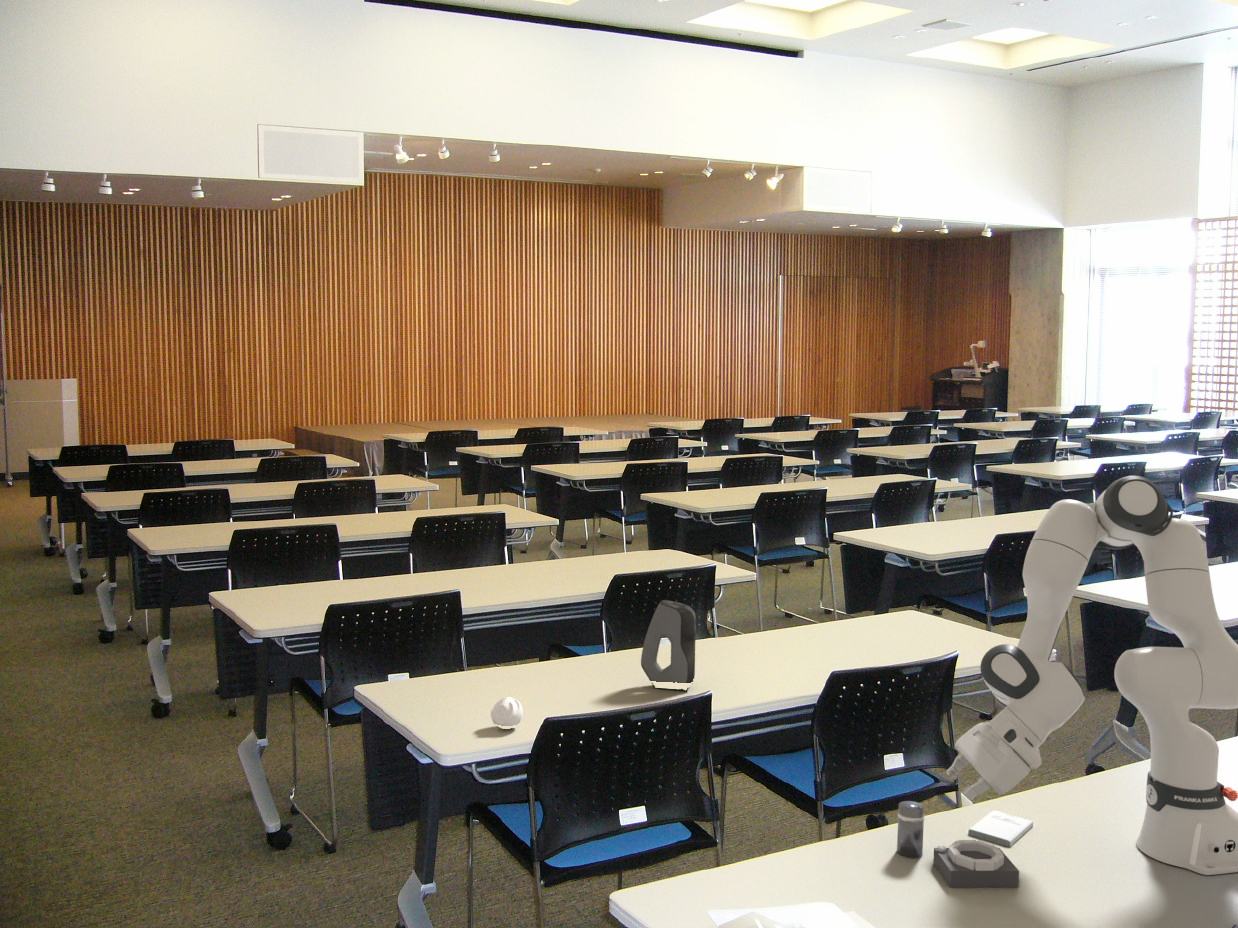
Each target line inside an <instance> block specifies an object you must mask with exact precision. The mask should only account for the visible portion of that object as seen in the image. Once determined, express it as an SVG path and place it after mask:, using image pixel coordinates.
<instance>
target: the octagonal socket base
mask: <svg viewBox="0 0 1238 928" xmlns="http://www.w3.org/2000/svg"><path fill="white" fill-rule="evenodd" d="M933 865H934V867H935V868H936V869H937V872H938V873H940V875H941V877H942V878H943V880H944V881H945V882H946V884H947V886H948V887H949V888H952V889H954V888H959V889H961V888H963V889H964V888H967V889H968V888H973V889H974V888H978V889H979V888H984V889H985V888H986V889H987V888H994V889H995V888H997V889H998V888H1001V889H1003V888H1007V889H1008V888H1010V889H1011V888H1012V889H1013V888H1016V889H1017V888H1019V885H1020V883H1019V882H1020V870H1019V869H1018V868H1017V867H1016V865H1014V863H1013V862H1012V860H1010V858H1009V857H1008V856H1007V855H1006V854H1005V852H1004V851H1003V850H1002V849H1001V848H1000V847H998V846H996V845H993V844H990V843H987V842H986V841H985V842H984V841H981V840H977V839H958V840H955V841H954V842H952V843H951V844H949V845H948V847H946V846H944V845H938V846H936V847H933Z"/></svg>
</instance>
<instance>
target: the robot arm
mask: <svg viewBox="0 0 1238 928" xmlns="http://www.w3.org/2000/svg"><path fill="white" fill-rule="evenodd" d="M1173 516H1174V510H1173V509H1172V507H1171V505H1170V504H1169V503H1168V501H1167V500H1166V498H1165V496H1164V494H1163V491H1162V490H1161V489H1160V488H1159V486H1158V485H1157V484H1156V483H1154V482H1153V481H1152V480H1150V479H1148V478H1147V477H1144V476H1140V475H1128V476H1124V477H1120V478H1119V479H1117V480H1114V481H1113V482H1112V483H1110V484H1109V486H1107V488H1106V489H1105V490H1104V491H1103V492H1102V493H1101V494H1100V495H1099V496H1098V497H1097V499H1096V500H1095V501H1094V502H1092V503H1085V502H1082V501H1079V500H1075V499H1070V498H1069V499H1068V498H1067V499H1066V498H1065V499H1061V500H1058V501H1056V502H1055V503H1054V504H1052V505H1051V506H1050V508H1049V510H1048V511H1047V512H1046V514H1045V515H1044V517H1043V518H1042V520H1041V521H1040V523H1039V525H1038V527H1037V529H1036V531H1035V533H1034V535H1033V536H1032V539H1031V541H1030V542H1029V543H1030V544H1029V545H1028V548H1027V551H1026V555H1025V558H1024V564H1023V567H1022V579H1023V584H1024V589H1025V594H1026V600H1027V615H1026V616H1027V617H1026V620H1025V624H1024V626H1023V629H1022V632H1021V635H1020V637H1019V640H1018V643H1017V646H1015V645H1013V644H1008V643H1006V644H998V645H995V646H993V647H991V648H990V649H989V650H988V651H986V652H985V654H984V655H983V657H982V659H981V661H980V674H981V677H982V678H983V681H984V683H985V685H986V686H987V687H988V689H989V691H991V693H992V695H993V696H994V699H995V701H996V702H997V704H998V705H999V706H1000V707H1001V708H1002V710H1001V711H1000V712H999V713H997V714H996V715H995V716H994V717H993V718H992V719H991V720H988V721H985V722H979V723H978V724H975V725H974V726H973V727H971V728H970V729H968V731H966V732H965V733H964V734H962V735H961V736H960V737H959V738H958V739H957V740H956V742H955V743H954V747H955V748H956V749H957V751H959V754H958V755H957V756H955V758H954V759H953V760H954V761H953V762H952V764H951V765H950V766H949V767H948V769H946V772H945V773H946V774H947V776H948V777H949V778H951V779H952V781H955V780H956V779H957V778H959V777H960V776H961V772H962V771H963V769H964V768H965V767H968V765H971V766H972V767H973V768H974V769H975V770H976V771H977V772H978V774H979V775H980V777H979V778H978V779H977V782H975V783H973V784H972V785H970V784H968V785H966V787H965V788H964V789H963V790H962V794H963V795H964V796H965V797H966V799H968V800H969V801H972V800H973V799H975V797H977V796H978V795H981V794H983V793H987V792H988V791H989V790H990V789H991V788H993V790H994V791H995V792H996V793H997V794H999V795H1003V794H1007V793H1008V792H1009V791H1011V790H1012V789H1014V788H1015V787H1016V786H1017V785H1018V784H1020V782H1022V781H1023V779H1025V778H1026V776H1027V775H1028V774H1029V773H1030V771H1031V769H1032V770H1036V769H1038V768H1039V767H1040V766H1041V765H1042V762H1043V761H1042V757H1041V753H1040V748H1039V747H1040V746H1041V745H1043V744H1044V742H1046V739H1047V737H1048V736H1049V735H1050V734H1051V733H1053V732H1054V731H1056V730H1058V729H1059V728H1061V727H1062V726H1063V725H1064V724H1066V722H1067V721H1068V720H1069V719H1071V717H1073V715H1074V714H1075V713H1076V712H1077V711H1078V710H1079V709H1080V707H1081V706H1082V705H1083V703H1084V701H1085V699H1086V691H1085V689H1084V688H1085V687H1084V686H1083V684H1082V683H1081V681H1080V680H1079V679H1078V677H1077V676H1076V674H1075V673H1074V672H1073V671H1072V670H1071V669H1070V668H1069V667H1068V666H1067V664H1064V663H1063V662H1060V661H1050V659H1051V655H1052V653H1053V650H1054V647H1055V644H1056V641H1057V638H1058V635H1059V633H1060V629H1061V626H1062V623H1063V620H1064V617H1065V615H1066V613H1067V610H1068V608H1069V606H1070V604H1071V601H1072V599H1073V597H1074V594H1075V593H1076V591H1077V589H1078V587H1079V585H1080V582H1081V580H1082V578H1083V576H1084V574H1085V571H1086V570H1087V567H1088V564H1089V563H1090V559H1091V556H1092V554H1093V552H1094V550H1095V548H1096V547H1098V548H1105V549H1111V550H1122V549H1128V548H1129V547H1132V546H1135V547H1137V549H1138V551H1139V552H1140V555H1141V558H1142V560H1143V568H1144V580H1145V589H1146V591H1145V592H1146V598H1147V599H1146V600H1147V608H1148V613H1149V615H1150V617H1151V618H1152V619H1153V621H1154V622H1156V623H1157V624H1158V625H1159V626H1161V627H1163V628H1164V629H1168V631H1169V630H1170V631H1171V632H1172V633H1173V634H1175V636H1176V637H1177V638H1179V640H1180V641H1181V644H1182V645H1183V647H1175V646H1169V647H1168V646H1145V647H1139V648H1138V647H1137V648H1133V649H1127V650H1125V651H1124V652H1123V653H1121V655H1120V656H1119V657H1118V659H1117V661H1116V663H1115V666H1114V681H1115V684H1116V687H1117V689H1118V691H1119V692H1120V693H1121V695H1122V697H1123V698H1125V699H1126V700H1127V701H1128V702H1129V703H1131V704H1132V705H1133V706H1134V707H1135V708H1136V709H1137V710H1138V711H1139V712H1140V714H1141V715H1142V717H1143V719H1144V721H1145V722H1146V725H1147V729H1148V732H1149V736H1150V767H1149V769H1150V770H1149V771H1148V772H1147V778H1146V788H1145V789H1146V791H1145V792H1146V793H1145V798H1146V799H1145V800H1146V801H1145V802H1146V807H1145V814H1144V819H1143V822H1142V826H1141V829H1140V831H1139V835H1138V837H1137V839H1136V846H1137V848H1138V849H1139V850H1140V851H1141V852H1143V854H1145V855H1146V856H1148V857H1150V858H1152V859H1154V860H1156V861H1159V862H1162V863H1164V864H1167V865H1171V866H1175V867H1180V868H1182V869H1186V870H1188V871H1193V872H1194V873H1198V874H1201V875H1204V876H1212V875H1213V876H1214V875H1222V874H1223V875H1224V874H1229V873H1230V874H1231V873H1233V874H1234V873H1238V811H1236V810H1235V809H1234V808H1232V807H1231V806H1230V805H1229V804H1228V803H1226V800H1225V798H1226V799H1227V800H1229V801H1230V802H1236V801H1237V799H1238V792H1237V791H1236V790H1234V789H1233V788H1232V787H1229V786H1227V787H1225V785H1223V784H1222V782H1219V781H1218V772H1219V754H1220V749H1219V745H1218V743H1217V741H1216V739H1215V737H1214V736H1213V735H1212V734H1211V733H1210V732H1209V731H1207V730H1205V729H1204V728H1202V727H1200V726H1199V725H1197V724H1195V723H1193V722H1191V721H1190V718H1189V712H1190V709H1206V710H1207V709H1211V710H1213V709H1214V710H1215V709H1216V710H1235V709H1238V643H1237V642H1235V640H1234V639H1233V638H1232V637H1231V636H1230V634H1229V633H1228V632H1227V630H1226V628H1225V627H1224V625H1223V623H1222V621H1221V618H1220V617H1219V615H1218V613H1217V608H1216V607H1217V606H1216V604H1215V603H1216V602H1215V599H1214V593H1213V588H1212V580H1211V574H1210V569H1209V567H1210V566H1209V561H1208V556H1207V552H1206V549H1205V546H1204V543H1203V539H1202V537H1201V534H1200V530H1199V529H1198V528H1197V526H1196V525H1195V524H1194V523H1192V522H1191V521H1189V520H1186V519H1183V518H1176V517H1173Z"/></svg>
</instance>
